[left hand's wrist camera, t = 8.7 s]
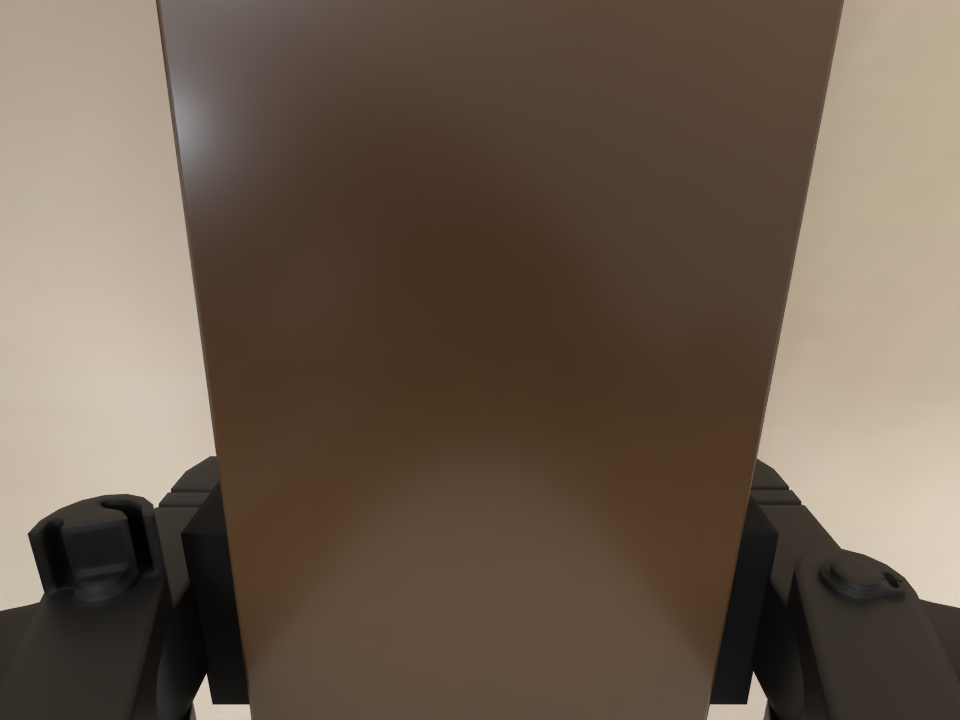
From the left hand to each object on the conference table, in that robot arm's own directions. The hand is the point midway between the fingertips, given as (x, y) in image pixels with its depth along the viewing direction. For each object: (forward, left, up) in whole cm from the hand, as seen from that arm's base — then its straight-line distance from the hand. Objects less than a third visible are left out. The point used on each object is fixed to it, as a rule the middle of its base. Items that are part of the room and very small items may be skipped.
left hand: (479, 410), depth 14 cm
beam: (+17, +30, -1) cm, 35 cm away
